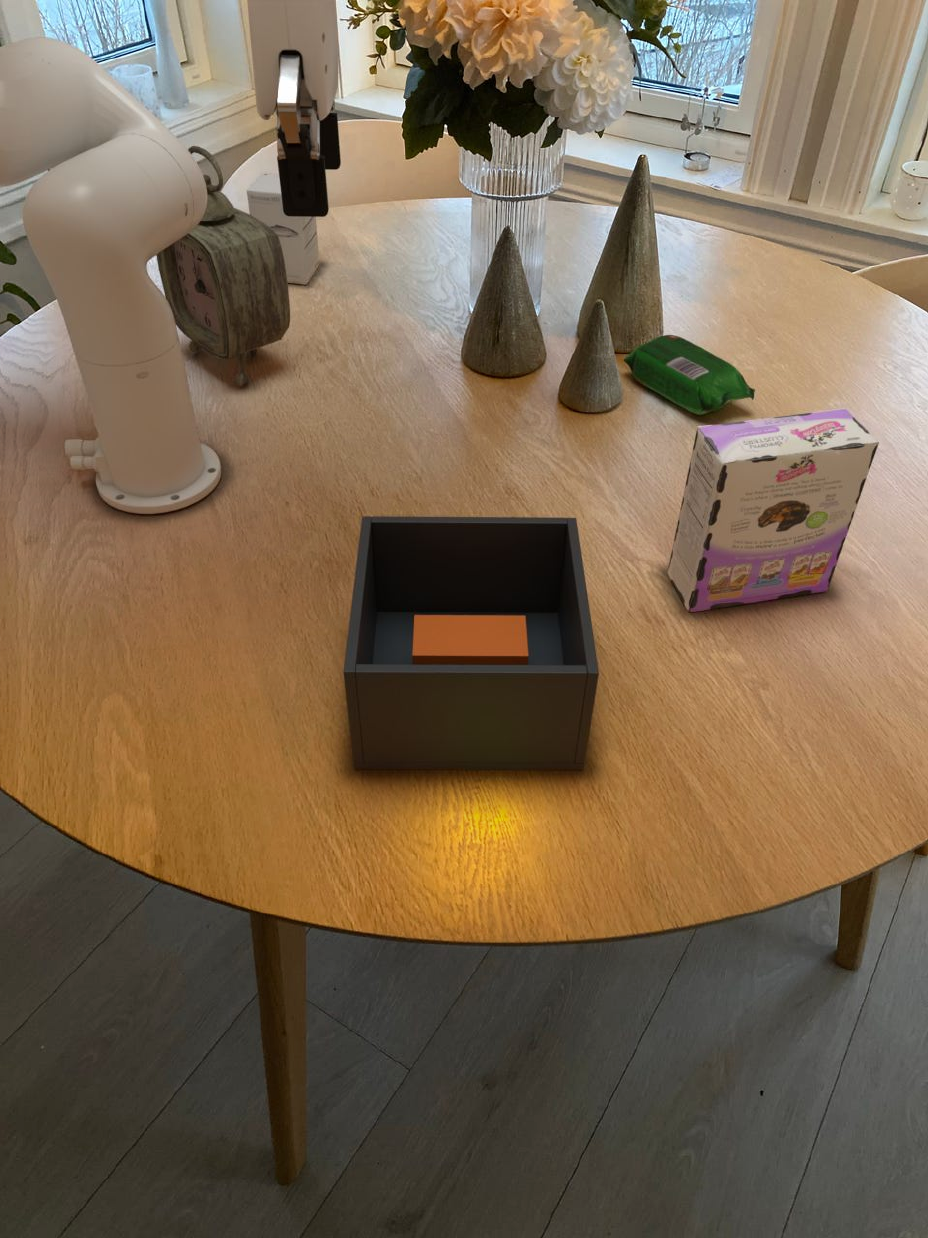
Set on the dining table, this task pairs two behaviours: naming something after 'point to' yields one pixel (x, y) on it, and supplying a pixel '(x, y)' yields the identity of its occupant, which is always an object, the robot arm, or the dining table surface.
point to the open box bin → (470, 694)
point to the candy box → (768, 507)
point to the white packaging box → (286, 228)
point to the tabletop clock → (227, 280)
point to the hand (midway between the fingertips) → (313, 190)
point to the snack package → (687, 374)
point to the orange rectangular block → (470, 640)
